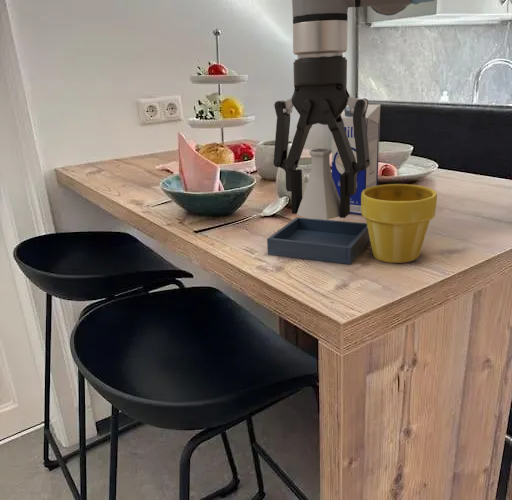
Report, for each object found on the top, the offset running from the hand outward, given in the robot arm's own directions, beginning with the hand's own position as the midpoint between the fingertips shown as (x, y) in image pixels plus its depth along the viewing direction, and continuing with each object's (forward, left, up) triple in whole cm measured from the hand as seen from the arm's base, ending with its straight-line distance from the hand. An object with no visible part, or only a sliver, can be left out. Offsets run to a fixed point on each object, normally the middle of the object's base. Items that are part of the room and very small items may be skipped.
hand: (320, 213), depth 78 cm
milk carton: (+1, -23, -6) cm, 24 cm away
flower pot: (-12, 0, -6) cm, 13 cm away
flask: (0, 0, 0) cm, 0 cm away
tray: (0, 0, -5) cm, 5 cm away
